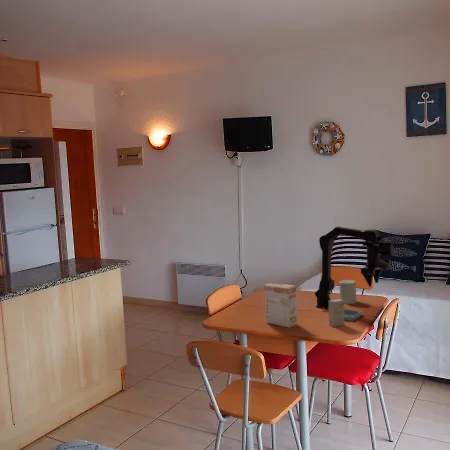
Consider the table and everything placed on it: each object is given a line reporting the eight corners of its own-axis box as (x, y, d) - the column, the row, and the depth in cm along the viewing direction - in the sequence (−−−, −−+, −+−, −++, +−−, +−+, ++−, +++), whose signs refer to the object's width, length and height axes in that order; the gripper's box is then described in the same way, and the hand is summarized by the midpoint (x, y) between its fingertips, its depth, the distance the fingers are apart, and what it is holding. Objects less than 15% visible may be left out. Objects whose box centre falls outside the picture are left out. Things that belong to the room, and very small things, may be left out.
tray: (329, 318, 258) (329, 314, 258) (339, 312, 268) (339, 308, 268) (352, 321, 251) (352, 317, 251) (361, 315, 261) (361, 311, 261)
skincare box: (334, 327, 244) (333, 302, 242) (328, 325, 248) (327, 300, 246) (345, 324, 246) (344, 300, 245) (339, 322, 250) (338, 298, 249)
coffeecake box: (298, 324, 251) (296, 285, 249) (289, 328, 246) (287, 288, 244) (274, 319, 262) (273, 281, 260) (265, 322, 257) (263, 284, 255)
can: (336, 302, 288) (335, 281, 287) (346, 298, 295) (345, 278, 293) (350, 304, 282) (349, 283, 280) (359, 301, 288) (359, 280, 287)
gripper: (382, 258, 249) (382, 290, 250) (394, 252, 264) (395, 282, 265) (359, 257, 255) (360, 288, 257) (373, 251, 270) (374, 280, 272)
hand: (373, 284), depth 263 cm, fingers open, 9 cm apart
